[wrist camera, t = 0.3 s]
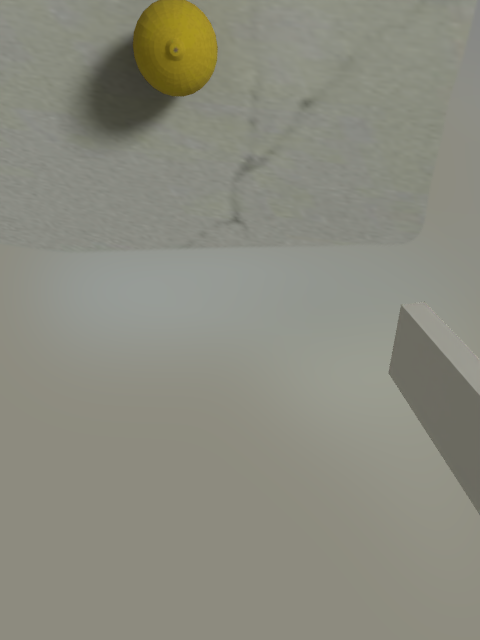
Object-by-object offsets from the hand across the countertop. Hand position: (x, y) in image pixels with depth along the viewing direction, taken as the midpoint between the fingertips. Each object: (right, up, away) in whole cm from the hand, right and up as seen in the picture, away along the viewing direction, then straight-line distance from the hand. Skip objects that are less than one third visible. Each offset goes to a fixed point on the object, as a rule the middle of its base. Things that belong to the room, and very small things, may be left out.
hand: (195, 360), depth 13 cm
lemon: (-3, +21, +19) cm, 29 cm away
